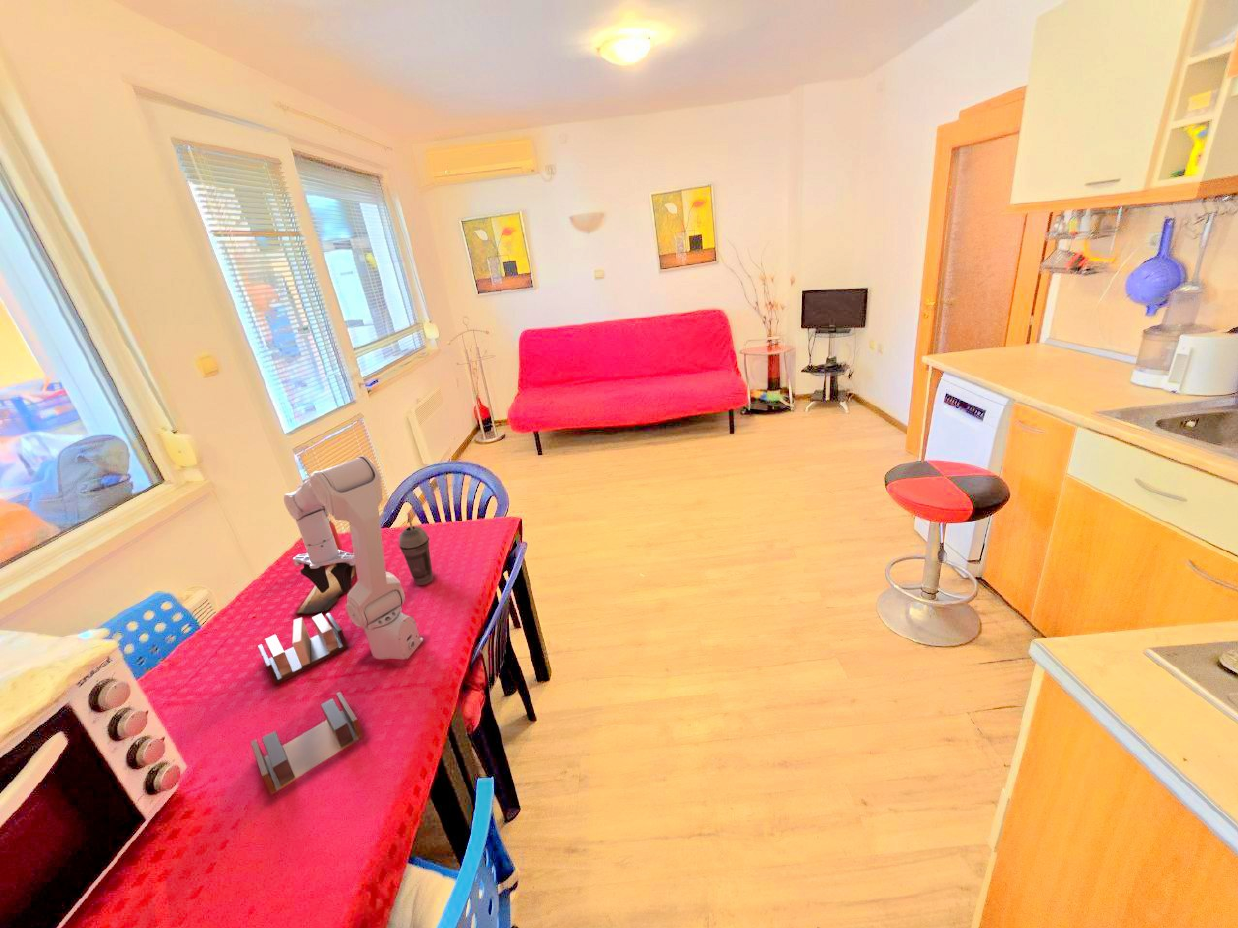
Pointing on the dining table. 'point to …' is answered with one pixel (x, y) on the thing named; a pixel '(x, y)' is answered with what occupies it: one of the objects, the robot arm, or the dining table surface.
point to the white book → (301, 641)
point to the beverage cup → (417, 553)
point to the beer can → (335, 535)
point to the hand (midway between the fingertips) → (336, 590)
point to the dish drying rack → (320, 650)
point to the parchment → (324, 594)
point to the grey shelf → (307, 746)
